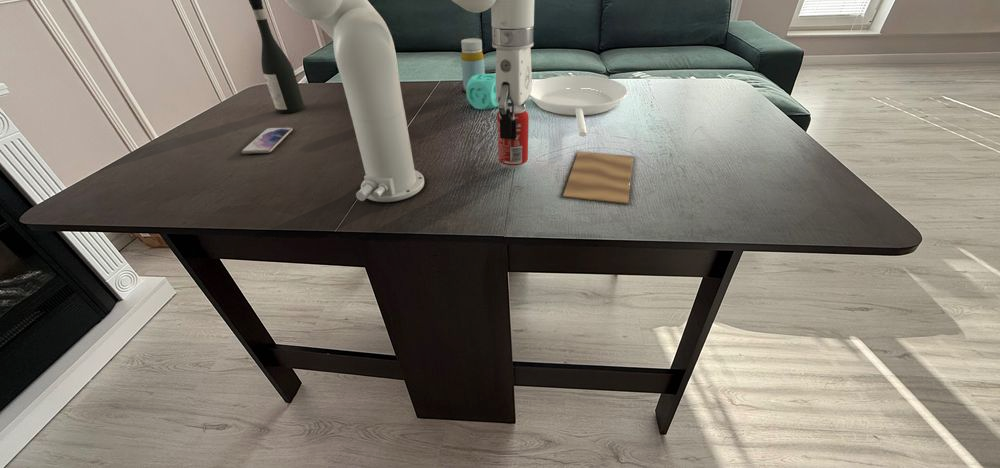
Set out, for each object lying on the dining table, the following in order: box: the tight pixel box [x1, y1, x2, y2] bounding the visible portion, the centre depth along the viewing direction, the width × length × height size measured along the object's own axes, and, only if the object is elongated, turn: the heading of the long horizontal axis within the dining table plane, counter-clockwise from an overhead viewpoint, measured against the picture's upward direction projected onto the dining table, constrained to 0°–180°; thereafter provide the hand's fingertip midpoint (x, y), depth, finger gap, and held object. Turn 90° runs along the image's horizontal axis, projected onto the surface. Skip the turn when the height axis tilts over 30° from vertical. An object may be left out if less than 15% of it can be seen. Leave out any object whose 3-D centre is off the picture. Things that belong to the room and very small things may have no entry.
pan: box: [528, 74, 629, 138], centre depth 116 cm, size 28×44×4 cm, turn 175°
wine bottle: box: [248, 0, 305, 114], centre depth 119 cm, size 8×8×30 cm
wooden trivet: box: [562, 151, 634, 205], centre depth 87 cm, size 20×12×1 cm, turn 163°
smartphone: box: [241, 126, 293, 155], centre depth 108 cm, size 7×1×15 cm
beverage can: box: [496, 104, 530, 169], centre depth 87 cm, size 6×6×12 cm
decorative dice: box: [465, 73, 499, 111], centre depth 123 cm, size 8×8×8 cm
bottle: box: [460, 37, 486, 92], centre depth 133 cm, size 7×7×15 cm
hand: (513, 131), depth 87 cm, fingers closed on beverage can, 6 cm apart
